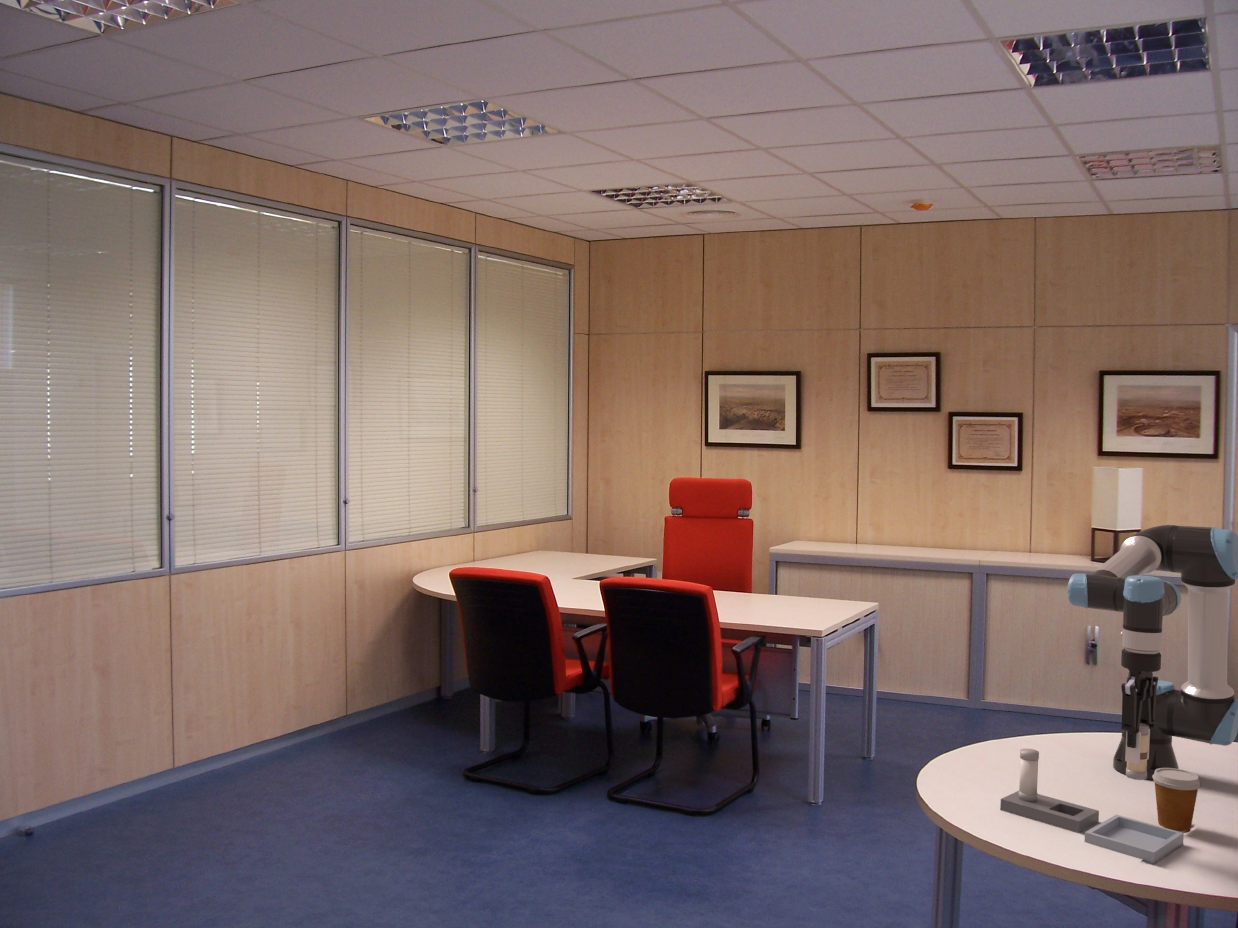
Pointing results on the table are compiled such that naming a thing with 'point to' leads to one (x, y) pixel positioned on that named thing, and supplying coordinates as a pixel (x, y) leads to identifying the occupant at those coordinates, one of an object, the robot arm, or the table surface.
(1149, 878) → the table surface
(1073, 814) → the grey slotted block
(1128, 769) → the fuse
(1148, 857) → the parts tray
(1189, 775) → the disposable coffee cup
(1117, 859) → the table surface
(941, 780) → the table surface
